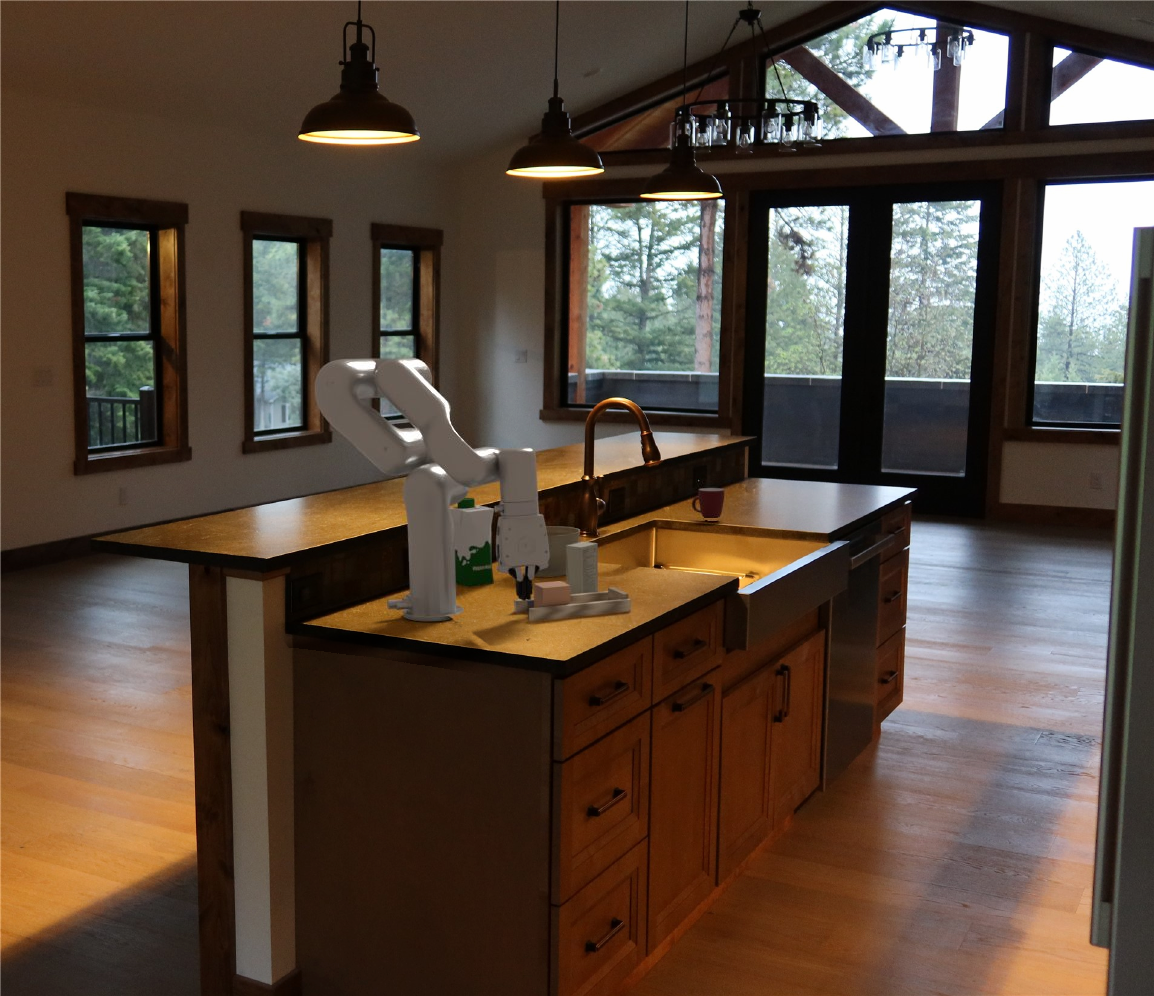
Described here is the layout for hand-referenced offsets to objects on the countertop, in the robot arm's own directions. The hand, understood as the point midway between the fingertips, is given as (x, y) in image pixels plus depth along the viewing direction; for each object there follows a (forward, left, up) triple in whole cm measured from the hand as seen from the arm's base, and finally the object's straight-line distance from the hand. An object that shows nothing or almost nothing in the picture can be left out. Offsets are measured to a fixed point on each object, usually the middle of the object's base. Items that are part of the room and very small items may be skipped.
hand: (524, 598), depth 245 cm
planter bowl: (+23, +46, -5) cm, 51 cm away
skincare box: (+20, +17, -5) cm, 26 cm away
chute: (+11, +1, -5) cm, 12 cm away
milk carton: (+3, +43, -5) cm, 43 cm away
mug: (+101, +107, -5) cm, 147 cm away
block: (+6, +1, -4) cm, 7 cm away
